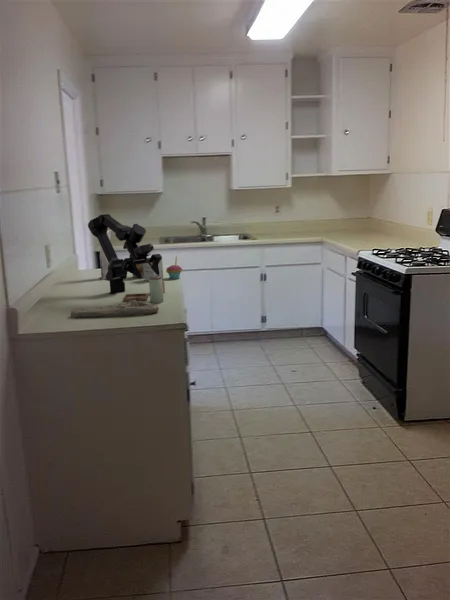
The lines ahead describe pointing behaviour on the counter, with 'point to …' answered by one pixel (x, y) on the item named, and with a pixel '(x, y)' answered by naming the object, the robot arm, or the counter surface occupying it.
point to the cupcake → (174, 270)
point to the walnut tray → (136, 297)
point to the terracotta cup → (163, 286)
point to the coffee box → (141, 268)
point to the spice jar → (156, 289)
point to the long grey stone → (116, 310)
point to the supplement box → (149, 272)
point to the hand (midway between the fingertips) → (150, 276)
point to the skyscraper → (104, 260)
